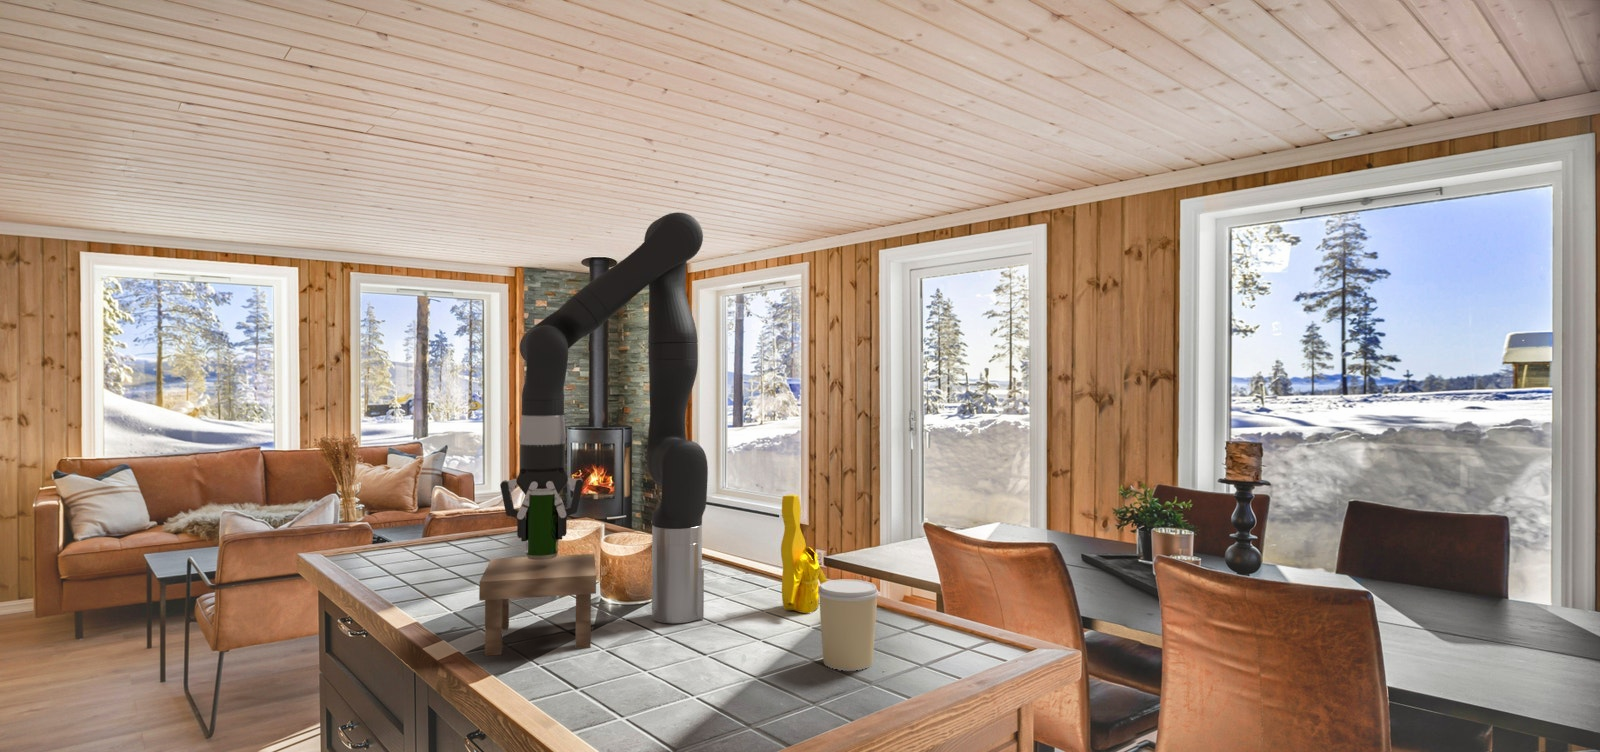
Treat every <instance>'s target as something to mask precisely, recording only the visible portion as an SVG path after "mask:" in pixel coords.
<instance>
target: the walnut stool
mask: <svg viewBox="0 0 1600 752" xmlns="http://www.w3.org/2000/svg"><path fill="white" fill-rule="evenodd" d="M596 570H597V568H596V558H595V553H583V554H565V555H563V554H562V555H557V556H556V557H555V558H551V559H544V560H532V559H528V558H527V556H524V557H523V556H521V557H503V558H501V557H499V558H491V559H490V560H489V562H488V565H487V566H486V568H485V570H484V572H483V574H482V576H481V577H480V579H479V584H478V585H479V587H478V588H479V591H478V592H479V593H478V594H479V595H478V596H479V597H478V599H479V601H482V602H483V601H484V656H497V655H499V656H500V655H502V652H503V651H502V650H503V631H505V630H509V628H510V600H512V599H529V598H547V597H563V596H575V649H588V648H590V649H591V648H592V647H591V646H592V645H591V643H592V642H591V641H592V640H591V639H592V638H591V636H592V634H591V633H592V632H591V631H592V626H591V625H592V624H591V623H592V622H591V621H592V609H591V608H592V602H591V601H592V595H593V594H597V571H596Z"/></svg>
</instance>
